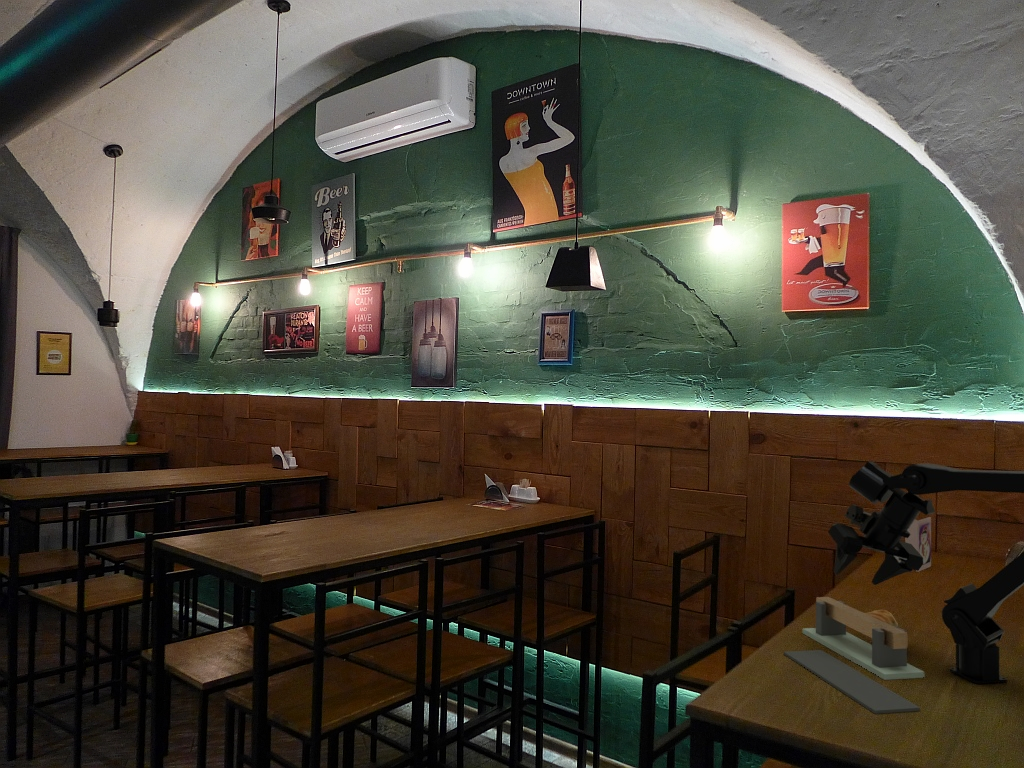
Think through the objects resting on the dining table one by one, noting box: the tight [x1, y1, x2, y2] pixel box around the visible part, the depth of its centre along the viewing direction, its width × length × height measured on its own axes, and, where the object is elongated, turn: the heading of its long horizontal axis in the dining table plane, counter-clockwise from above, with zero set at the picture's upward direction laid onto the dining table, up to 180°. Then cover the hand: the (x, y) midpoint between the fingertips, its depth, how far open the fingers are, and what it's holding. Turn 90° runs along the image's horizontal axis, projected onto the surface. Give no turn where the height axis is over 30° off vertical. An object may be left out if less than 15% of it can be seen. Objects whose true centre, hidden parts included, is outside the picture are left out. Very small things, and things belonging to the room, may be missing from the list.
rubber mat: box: [783, 649, 921, 715], centre depth 128 cm, size 27×8×1 cm, turn 9°
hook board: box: [802, 600, 925, 681], centre depth 142 cm, size 26×8×8 cm, turn 9°
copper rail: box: [815, 596, 909, 649], centre depth 142 cm, size 24×3×3 cm, turn 9°
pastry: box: [864, 609, 899, 627], centre depth 158 cm, size 9×7×4 cm
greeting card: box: [904, 516, 932, 573], centre depth 218 cm, size 11×7×15 cm, turn 132°
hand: (854, 578), depth 148 cm, fingers open, 9 cm apart
